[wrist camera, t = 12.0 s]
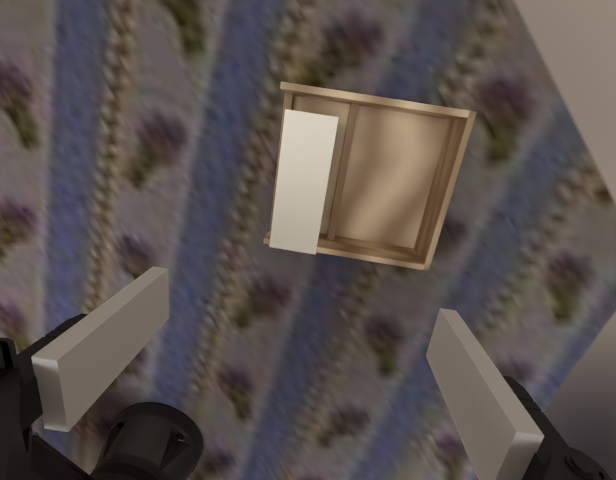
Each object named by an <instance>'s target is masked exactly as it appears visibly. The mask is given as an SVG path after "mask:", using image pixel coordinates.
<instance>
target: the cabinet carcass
mask: <svg viewBox="0 0 616 480" xmlns="http://www.w3.org/2000/svg"><path fill="white" fill-rule="evenodd" d="M280 89H281V90H283V91H284V92H285V97H284V106H283V115H282V123H281V132H280V141H279V150H278V159H277V167H276V176H275V185H274V194H273V202H272V210H273V209H274V201H275V193H276V184H277V175H278V167H279V158H280V149H281V141H282V132H283V123H284V115H285V109H288V110H295V111H301V112H308V113H314V114H320V115H327V116H333V117H339V119H338V124H337V130H336V136H335V142H334V148H333V154H332V160H331V166H330V172H329V178H328V184H327V190H326V196H325V202H324V208H323V214H322V219H321V225H320V231H319V237H318V243H317V249H316V252H319V253H325V254H331V255H337V256H342V257H348V258H354V259H360V260H366V261H372V262H378V263H384V264H390V265H396V266H402V267H408V268H414V269H420V270H426V271H429V268H430V265H431V262H432V258H433V255H434V252H435V249H436V245H437V242H438V239H439V235H440V232H441V229H442V225H443V222H444V219H445V215H446V212H447V209H448V205H449V202H450V199H451V195H452V192H453V189H454V185H455V182H456V179H457V176H458V172H459V169H460V166H461V162H462V159H463V156H464V152H465V149H466V146H467V142H468V139H469V136H470V132H471V129H472V126H473V122H474V119H475V116H476V113H477V112H475V111H468V110H462V109H456V108H449V107H443V106H436V105H430V104H423V103H417V102H410V101H404V100H397V99H391V98H384V97H378V96H371V95H365V94H358V93H352V92H345V91H339V90H332V89H326V88H319V87H313V86H306V85H300V84H293V83H287V82H281V86H280ZM271 213H272V211H271ZM270 236H271V229H269V231H268V233H267V234H266V236H265V237H264V242H263V243H265V244H270Z"/></svg>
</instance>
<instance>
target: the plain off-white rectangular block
mask: <svg viewBox="0 0 616 480" xmlns="http://www.w3.org/2000/svg"><path fill="white" fill-rule="evenodd" d="M338 119H339V117H333V116H327V115H320V114H314V113H308V112H301V111H295V110H288V109H285V115H284V123H283V132H282V141H281V149H280V158H279V167H278V175H277V184H276V193H275V201H274V209H273V210H272V213H271V218H270V229H271V236H270V245H269V247H273V248H279V249H285V250H291V251H297V252H303V253H309V254H315V255H316V249H317V243H318V237H319V231H320V225H321V219H322V214H323V208H324V202H325V196H326V190H327V184H328V178H329V172H330V166H331V160H332V154H333V148H334V142H335V136H336V130H337V124H338Z"/></svg>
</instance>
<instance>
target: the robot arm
mask: <svg viewBox="0 0 616 480" xmlns="http://www.w3.org/2000/svg"><path fill="white" fill-rule="evenodd" d="M168 319H169V277H168V269H166V268H159V267H152V268H150V269H149V270H148V271H146V272H145V273H144V274H142V275H141V276H140V277H138V278H137V279H135V280H134V281H133V282H131V283H130V284H129V285H127V286H126V287H125V288H123V289H122V290H121V291H119V292H118V293H117V294H115V295H114V296H113V297H111V298H110V299H108V300H107V301H106V302H104V303H103V304H102V305H100V306H99V307H98V308H96V309H95V310H94V311H92V312H91V313H90V314H80V315H78V316H75V317H73V318H71V319H68V320H66V321H65V322H64V323H62V324H61V325H59V326H58V327H56V328H55V330H52V331H51V332H49V333H48V334H46V335H45V337H42V338H41V339H39V340H38V341H37V342H35V343H34V344H32V345H31V346H29V347H28V348H27V349H25V350H24V351H22V352H21V353H19V354H18V355H17V353H16V349H15V344H14V341H13V340H11V339H9V338H0V480H186V479H187V478H188V476H189V475H190V474H191V473H192V472H193V470H194V469H195V467H196V465H197V463H198V460H199V458H200V455H201V453H202V449H203V441H202V437H201V434H200V432H199V430H198V428H197V427H196V426H195V424H194V423H193V422H192V421H191V420H190V419H189V418H188V417H187V416H185V415H184V414H182V413H181V412H179V411H177V410H175V409H173V408H171V407H168V406H165V405H162V404H156V403H141V404H136V405H133V406H130V407H128V408H127V409H125V410H124V411H123V412H122V413H121V414H120V415H119V416H118V418H117V419H116V420H115V422H114V423H113V424H112V426H111V428H110V430H109V432H108V434H107V437H106V440H105V443H104V445H103V448H102V451H101V453H100V456H99V459H98V462H97V464H96V467H95V469H94V470H93V472H92V473H91V474H90V475H88V474H87V473H86V472H84V471H83V470H82V469H81V468H79V467H78V466H77V465H75V464H74V463H73V462H72V461H70V460H69V459H68V458H66V457H65V456H64V455H62V454H61V453H60V452H59V451H57V450H56V449H55V448H53V447H52V446H51V445H50V444H48V443H47V442H46V441H44V440H43V439H42V438H41V437H39V436H38V435H39V434H38V433H37V432H32V427H31V424H32V423H33V422H34V421H35V420H37V419H38V418H39V417H40V416H41V415H42V417H43V423H44V428H45V429H50V430H57V431H63V432H69V431H70V430H71V428H72V427H73V426H74V425H75V424H76V423H77V422H78V421H79V419H80V418H81V417H82V416H83V415H84V414H85V413H86V412H87V410H88V409H89V408H90V407H91V406H92V405H93V404H94V402H95V401H96V400H97V399H98V398H99V397H100V396H101V395H102V393H103V392H104V391H105V390H106V389H107V388H108V387H109V385H110V384H111V383H112V382H113V381H114V380H115V379H116V378H117V376H118V375H119V374H120V373H121V372H122V371H123V370H124V369H125V367H126V366H127V365H128V364H129V363H130V362H131V361H132V359H133V358H134V357H135V356H136V355H137V354H138V353H139V352H140V350H141V349H142V348H143V347H144V346H145V345H146V344H147V342H148V341H149V340H150V339H151V338H152V337H153V336H154V335H155V333H156V332H157V331H158V330H159V329H160V328H161V327H162V325H163V324H164V323H165V322H166V321H167V320H168ZM426 358H427V360H428V363H429V365H430V367H431V370H432V372H433V374H434V377H435V379H436V381H437V384H438V386H439V389H440V391H441V393H442V396H443V398H444V400H445V403H446V405H447V407H448V410H449V412H450V415H451V417H452V419H453V422H454V424H455V426H456V429H457V431H458V433H459V436H460V438H461V441H462V443H463V445H464V448H465V450H466V452H467V455H468V457H469V459H470V462H471V464H472V467H473V469H474V471H475V474H476V476H477V478H478V480H612V479H610V477H609V476H608V474H607V473H606V471H605V470H604V469H603V468H602V467H601V466H600V465H599V464H598V463H597V462H596V461H595V460H593V459H592V458H590V457H589V456H587V455H586V454H584V453H583V452H581V451H578V450H576V449H574V448H572V447H569V446H568V445H567V444H566V442H565V441H564V440H563V438H562V437H561V436H560V434H559V433H558V432H557V430H556V429H555V428H554V426H553V425H552V424H551V423H550V421H549V420H548V418H547V417H546V416H545V415H544V413H543V412H541V409H540V408H539V407H538V405H537V404H536V403H535V402H533V399H532V397H531V396H530V395H529V393H528V392H527V391H526V389H525V388H524V387H523V386H521V385H520V384H519V383H518V382H517V381H515V380H514V379H513V378H512V377H508V376H502V375H501V374H500V372H499V371H498V369H497V368H496V366H495V365H494V364H493V362H492V361H491V359H490V358H489V357H488V355H487V354H486V352H485V351H484V349H483V348H482V347H481V345H480V344H479V342H478V341H477V339H476V338H475V337H474V335H473V334H472V332H471V331H470V330H469V328H468V327H467V325H466V324H465V322H464V321H463V320H462V318H461V317H460V315H459V314H458V313H457V311H456V310H449V309H442V308H440V309H439V313H438V316H437V320H436V323H435V326H434V330H433V333H432V337H431V340H430V344H429V347H428V350H427V354H426Z"/></svg>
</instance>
